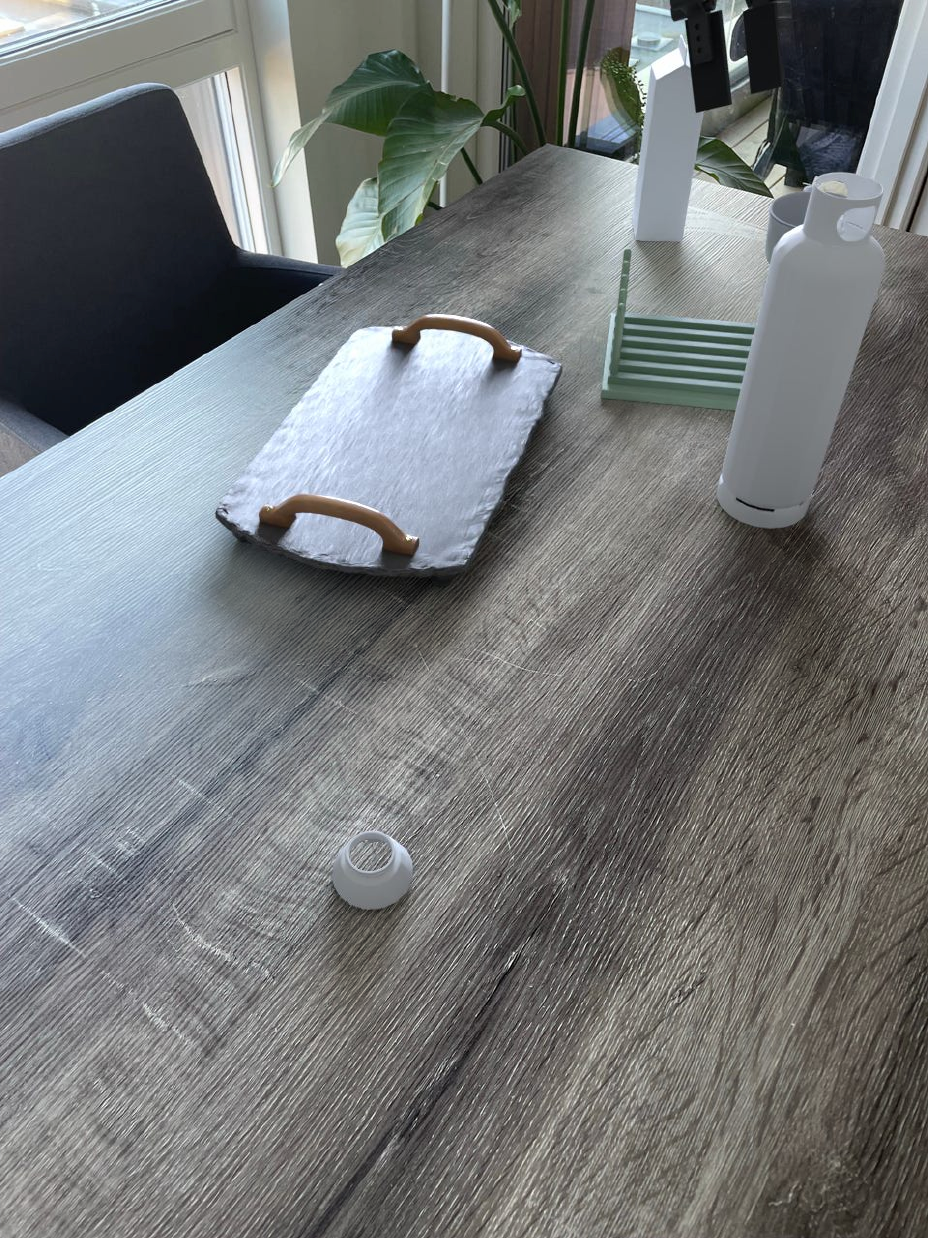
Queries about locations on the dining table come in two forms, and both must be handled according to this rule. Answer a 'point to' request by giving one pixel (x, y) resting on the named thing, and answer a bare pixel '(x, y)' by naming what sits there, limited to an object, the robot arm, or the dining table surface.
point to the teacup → (788, 216)
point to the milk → (667, 150)
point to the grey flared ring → (373, 875)
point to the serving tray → (396, 452)
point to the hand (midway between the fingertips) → (742, 99)
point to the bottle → (803, 354)
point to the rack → (674, 357)
